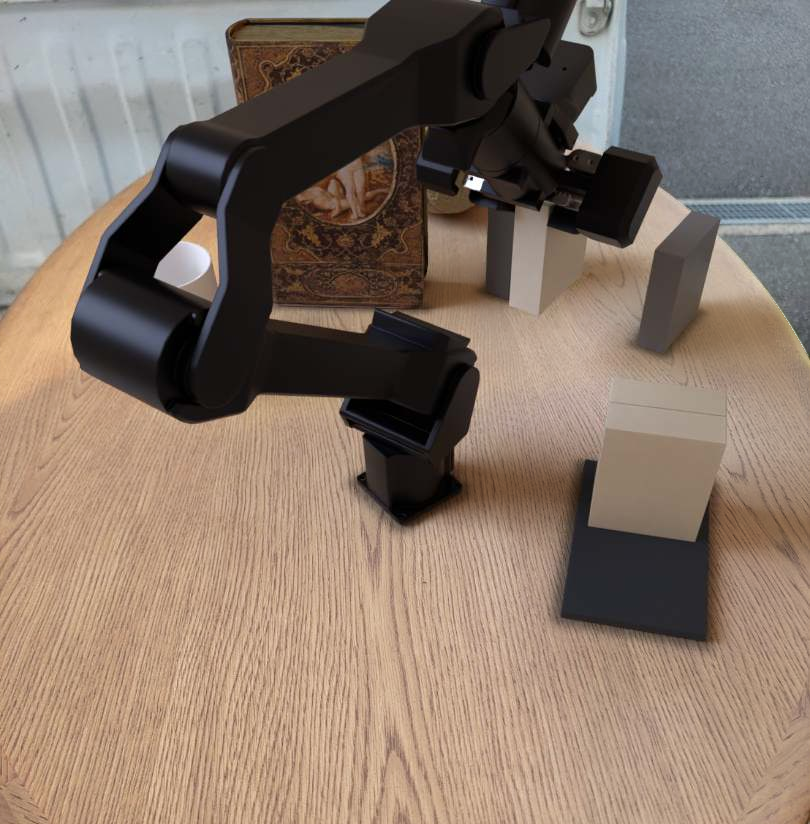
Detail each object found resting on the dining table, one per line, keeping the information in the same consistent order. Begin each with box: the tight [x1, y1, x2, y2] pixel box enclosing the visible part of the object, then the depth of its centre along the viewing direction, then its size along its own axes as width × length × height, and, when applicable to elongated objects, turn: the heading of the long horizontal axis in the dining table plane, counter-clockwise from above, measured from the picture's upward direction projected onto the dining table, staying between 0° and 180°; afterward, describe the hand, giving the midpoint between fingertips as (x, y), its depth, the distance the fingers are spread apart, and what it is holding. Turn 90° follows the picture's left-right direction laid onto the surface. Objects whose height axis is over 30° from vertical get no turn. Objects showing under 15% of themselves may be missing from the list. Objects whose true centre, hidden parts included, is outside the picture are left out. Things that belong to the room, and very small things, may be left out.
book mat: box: [560, 377, 728, 642], centre depth 63 cm, size 10×16×11 cm, turn 166°
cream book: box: [508, 168, 588, 317], centre depth 74 cm, size 8×3×10 cm, turn 144°
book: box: [224, 17, 429, 309], centre depth 82 cm, size 16×6×25 cm, turn 84°
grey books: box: [484, 208, 722, 355], centre depth 85 cm, size 8×20×10 cm, turn 55°
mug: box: [154, 240, 219, 302], centre depth 80 cm, size 12×8×10 cm
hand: (561, 213), depth 74 cm, fingers closed on cream book, 3 cm apart
